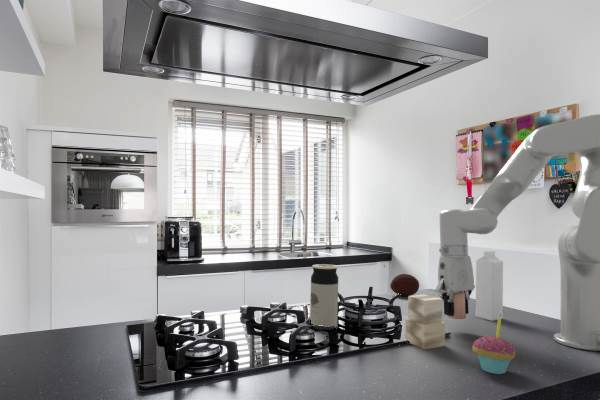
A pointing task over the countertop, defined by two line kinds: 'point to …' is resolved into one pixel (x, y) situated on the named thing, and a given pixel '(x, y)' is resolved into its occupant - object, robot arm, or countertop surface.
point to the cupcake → (494, 352)
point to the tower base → (425, 334)
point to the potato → (405, 285)
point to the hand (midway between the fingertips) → (456, 313)
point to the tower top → (425, 309)
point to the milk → (489, 287)
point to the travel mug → (324, 295)
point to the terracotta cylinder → (458, 305)
